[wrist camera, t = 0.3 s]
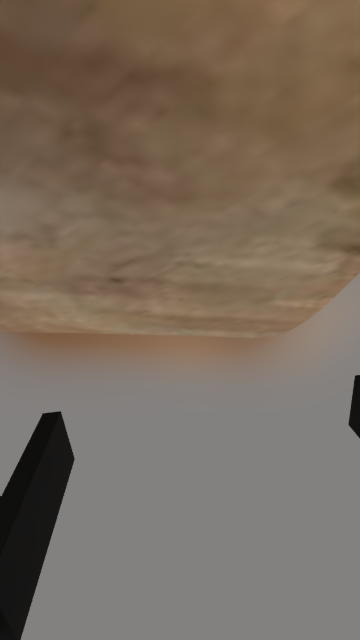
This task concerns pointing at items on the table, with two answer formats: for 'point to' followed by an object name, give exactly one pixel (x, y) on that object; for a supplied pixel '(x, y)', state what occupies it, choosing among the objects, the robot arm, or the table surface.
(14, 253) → the table surface
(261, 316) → the table surface
